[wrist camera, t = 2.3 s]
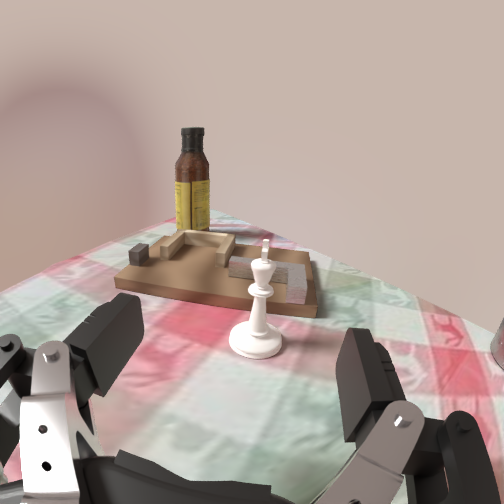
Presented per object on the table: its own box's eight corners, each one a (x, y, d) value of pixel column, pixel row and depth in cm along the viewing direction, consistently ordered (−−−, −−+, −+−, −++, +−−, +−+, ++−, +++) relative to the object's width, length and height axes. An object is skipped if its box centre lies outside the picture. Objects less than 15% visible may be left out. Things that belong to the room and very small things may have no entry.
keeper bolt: (302, 279, 34) (304, 264, 33) (304, 304, 29) (307, 288, 28) (230, 270, 35) (231, 255, 34) (220, 294, 29) (220, 277, 29)
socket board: (307, 260, 44) (310, 240, 43) (315, 318, 29) (321, 290, 28) (164, 243, 46) (164, 224, 45) (115, 287, 31) (111, 262, 30)
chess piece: (223, 354, 23) (227, 247, 19) (234, 322, 27) (240, 227, 24) (279, 362, 22) (298, 256, 19) (282, 329, 27) (297, 234, 23)
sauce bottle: (210, 230, 54) (215, 128, 47) (208, 241, 49) (213, 126, 41) (177, 229, 54) (180, 128, 46) (172, 240, 48) (174, 126, 41)
